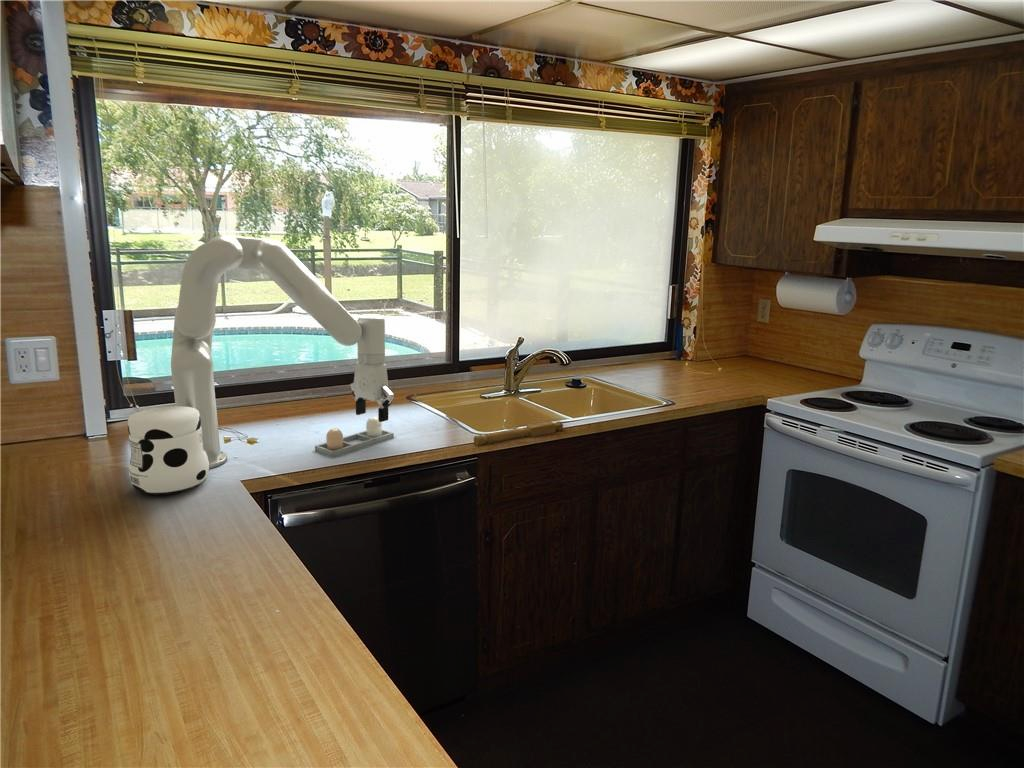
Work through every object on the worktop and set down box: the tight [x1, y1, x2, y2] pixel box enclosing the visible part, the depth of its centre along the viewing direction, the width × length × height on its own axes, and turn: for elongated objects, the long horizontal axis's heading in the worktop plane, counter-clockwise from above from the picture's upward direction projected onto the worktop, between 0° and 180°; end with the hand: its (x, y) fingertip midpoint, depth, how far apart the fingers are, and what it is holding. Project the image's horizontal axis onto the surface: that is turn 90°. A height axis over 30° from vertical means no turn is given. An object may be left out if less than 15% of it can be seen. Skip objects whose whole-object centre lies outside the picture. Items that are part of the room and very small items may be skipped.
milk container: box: [127, 405, 210, 496], centre depth 172 cm, size 17×17×18 cm
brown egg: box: [325, 427, 344, 451], centre depth 196 cm, size 4×4×6 cm
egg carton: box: [312, 429, 398, 459], centre depth 202 cm, size 23×9×2 cm, turn 141°
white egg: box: [365, 416, 383, 438], centre depth 207 cm, size 4×4×6 cm
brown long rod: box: [473, 420, 564, 446], centre depth 214 cm, size 3×3×30 cm
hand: (372, 417), depth 206 cm, fingers open, 9 cm apart
